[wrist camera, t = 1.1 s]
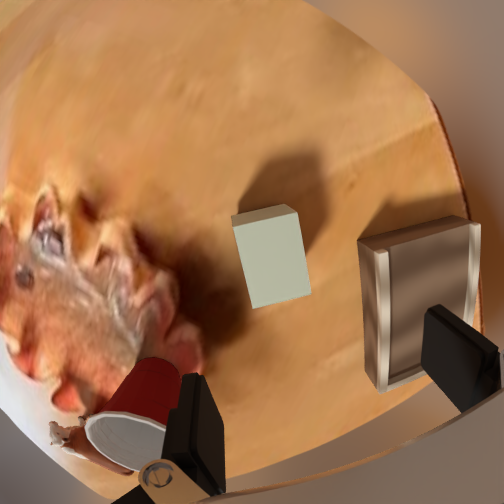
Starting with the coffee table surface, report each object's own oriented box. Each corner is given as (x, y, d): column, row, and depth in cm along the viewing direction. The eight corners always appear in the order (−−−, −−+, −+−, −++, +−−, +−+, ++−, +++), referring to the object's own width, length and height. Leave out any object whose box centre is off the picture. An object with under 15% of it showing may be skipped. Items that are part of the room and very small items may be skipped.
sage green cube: (229, 214, 29) (231, 227, 23) (283, 202, 29) (298, 212, 23) (246, 281, 31) (251, 309, 25) (296, 269, 31) (312, 293, 25)
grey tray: (356, 240, 30) (378, 254, 26) (453, 215, 31) (480, 224, 26) (364, 370, 36) (379, 394, 31) (447, 336, 36) (466, 354, 31)
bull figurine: (65, 392, 33) (44, 431, 25) (144, 438, 37) (136, 481, 29) (58, 406, 34) (39, 443, 26) (133, 449, 37) (124, 489, 29)
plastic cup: (98, 370, 32) (66, 439, 21) (147, 322, 31) (117, 396, 20) (164, 417, 35) (152, 488, 24) (218, 378, 34) (220, 458, 22)
